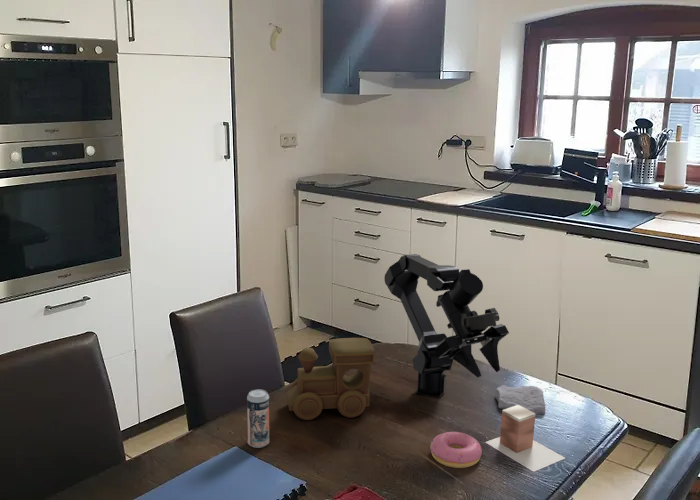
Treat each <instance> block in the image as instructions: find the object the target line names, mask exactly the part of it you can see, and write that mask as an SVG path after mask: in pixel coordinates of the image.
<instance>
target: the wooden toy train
mask: <svg viewBox="0 0 700 500" xmlns="http://www.w3.org/2000/svg"><path fill="white" fill-rule="evenodd" d="M328 352H329V356H330V359H331V363H332V365H331V366H329V365H328V366H323V365H321V366H315V364H316V363H317V360H318V358H319V355H318V354H317V353H316V351H315V350H314V348H313V347H304V348H302V350H301V352H300V353H299V355H298V357H297V358H298V360H299V362H300V364H301V366H302V367H299V368H297V378H296V379H295V380H294V381H293V382H292V384H291V386H290V387H289V388H290V389H289V390H288V391H286V398H287V399H286V400H287V405H288V410H289V412H290V411H291V412H292V411H293V412H294V414H295V416H296V417H297V418H299V419H301V420H304V421H311V420H314V419H316V418H318V417H319V416H320V415H321V413H322V411H323V410H326V409H329V410H330V409H337V410H338V412H339V413H340V415H342V416H343V417H345V418H356V417H358V416H360V415H362V414H363V412H364V411H365V410H366V407H370V398H371V397H370V395H371V394H370V392H369V389H370V381H371V370H372V369H371V368H372V367H371V365H373V364H375V361H376V358H375V357H376V356H375V355H376V352H375V348H374V345H373V344H372V343H371V341H370V340H369V339H368V338H365V337H343V338H332V339H329V340H328ZM350 370H356V371H355V372H354V373H353V374H352V375H351V374H346V373H347V372H349V371H350Z"/></svg>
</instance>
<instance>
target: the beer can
mask: <svg viewBox="0 0 700 500" xmlns="http://www.w3.org/2000/svg"><path fill="white" fill-rule="evenodd" d="M246 403H247V404H246V406H247V408H246V409H247V445H249V446H250V447H252V448H255V449H260V448H264V447H266V446H267V445H269V443H270V395H269V393H268V392H267V391H266V390H264V389H257V388H256V389H252V390H250V391H249V392H248V394H247V397H246Z"/></svg>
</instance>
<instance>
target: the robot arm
mask: <svg viewBox="0 0 700 500" xmlns="http://www.w3.org/2000/svg"><path fill="white" fill-rule="evenodd" d="M420 278H422V279H424V280H425V281H426V285H427V286H428V287H429V288H430V289H431V290H432V291H434V292H443V291H444V293H442V294H439V295H437V301H436V304H435V306H436V307H437V308H439V307H441V308H442V310H443V312H444V314H445V316H446V318H447V320H448V324H446V326H447V328H448V329H452V330H453V332H454V335H451V336H447V335H446V334H445V333H444V332H442V333H438V332H437V331H436V329H435V327H434V325H433V324H432V321H431V319H430V317H429V315H428V312H427V310H426V309H425V307H424V304H423V302H422V299H421V298H420V296H419V294H418V291H417V288H418V283H419V279H420ZM383 279H384V284H385V286H387V289H388V290H389V293H391V294H392V296H394V297H396V298H397V299H399V300H400V302H401V304H402V306H403V308H404V311H405V313H406V315H407V317H408V320H409V321H410V324H411V326H412V328H413V331H414V334H415V336H416V338H417V340H418V346H417V352H416V353H417V354H416V355H415V356H414V357H413V358H412V366H413V367H412V368H413V369H414V370H416V371H417V372H418V373H417V374H418V375H417V388H416V389H415V392H414V393H415V394H416V395H420V396H421V395H422V396H427V397H431V398H432V397H433V398H438V399H439V398H441V396H442V395H443V394H444V393H445V391H446V390H447V378H448V377H447V374H446V372H445V371H451V368H452V365H453V363H454V361H455V362H457V363H458V364H460V365H461V366H462V367H464V368H465V369H467V371H469V372H470V373H471V374H472V375H474V376H475V377H476V378H478V379H479V378H480V377H482V374H481V371H480V368H479V366H478V364H477V362H476V360H475V357H474V355H473V354H472V353H473V352H472V345H475V344H479V343H480V345H481V348H479V352H481V354H482V355H483V357H484V358H485V359H486V360H487V362H488V364H489V365H490V366H491V368H492V369H493V370H494V371H495V372H496V373H498V372H500V371H501V367H500V361H499V359H500V358H499V353H498V345H499V342H500V341H501V340H502V339H503V338H505V337H506V336H507V335H509V334H510V331H509V330H508V327H506V325H505V324H502V323H500V324H497V322H499V321H500V315H499V312H498V311H497V309H496V308H495V307H491V308H487V309H485V311H484V313H483V314H478V312H477V311H475V310H471V308H470V307H469V305H470V304H471V303H472V302H473V301H474V300H475V299H476V298H477V297H478V295H480V294H481V293H482V291H483V289H484V283H483V281H482V280H481V278H480V277H478V276H477V275H476V274H474V273H472V272H471V270H470V269H469V268H467V269H466V268H464V269H461V270H460V268H458V266H457V265H449V264H448V265H446V264H445V265H443V264H442V265H439V264H437V263H435V262H433V261H430V260H429V259H426V258H424V257H422V256H421V255H420V254H416V253H412V254H403V255H402V256H401V257H400V258H399V259H398V261H396V262H394V263H393V264H392V265H390V266H389V267H388V269H387V271H386V272H385V273H384V278H383ZM482 332H483V333H482Z"/></svg>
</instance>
